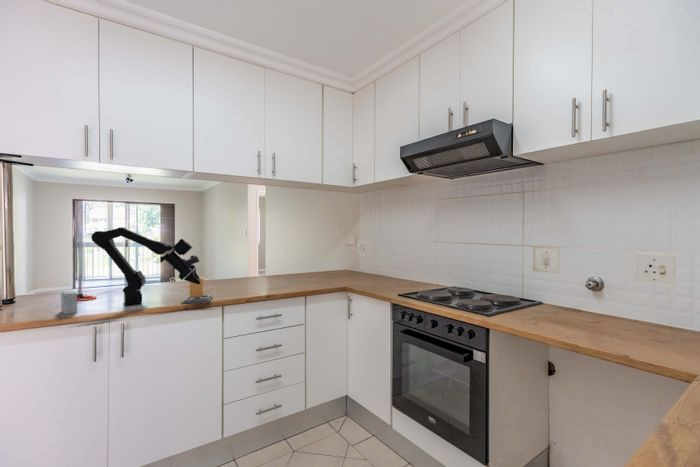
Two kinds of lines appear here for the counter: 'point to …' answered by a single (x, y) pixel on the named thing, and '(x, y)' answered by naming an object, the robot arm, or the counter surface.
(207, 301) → the post plate
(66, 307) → the medicine box
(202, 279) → the orange wooden block
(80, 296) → the tow hook
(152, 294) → the counter surface
